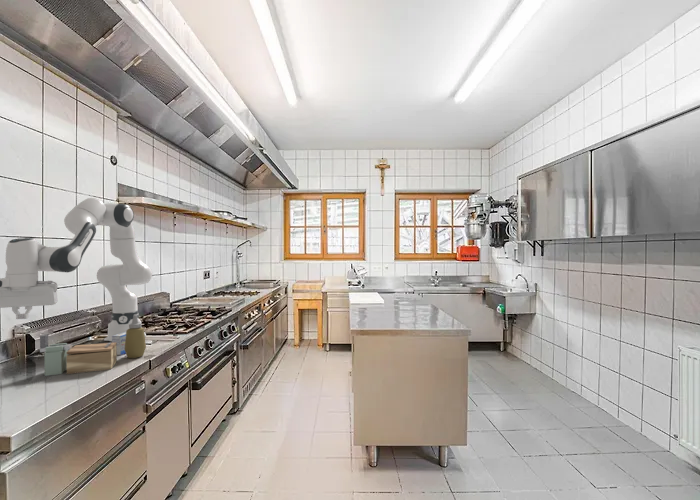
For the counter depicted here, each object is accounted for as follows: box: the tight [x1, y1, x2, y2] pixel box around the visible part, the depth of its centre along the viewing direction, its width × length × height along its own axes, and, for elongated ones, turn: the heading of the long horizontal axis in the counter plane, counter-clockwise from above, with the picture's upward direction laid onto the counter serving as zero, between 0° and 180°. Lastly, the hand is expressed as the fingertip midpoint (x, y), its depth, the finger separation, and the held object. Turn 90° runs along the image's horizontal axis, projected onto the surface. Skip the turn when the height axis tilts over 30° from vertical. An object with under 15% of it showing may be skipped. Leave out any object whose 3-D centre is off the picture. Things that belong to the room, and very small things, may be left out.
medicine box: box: [111, 332, 126, 356], centre depth 158 cm, size 8×4×9 cm, turn 168°
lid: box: [67, 342, 117, 354], centre depth 138 cm, size 10×14×1 cm
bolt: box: [39, 334, 73, 353], centre depth 133 cm, size 3×9×6 cm, turn 113°
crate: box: [66, 345, 118, 375], centre depth 138 cm, size 10×14×7 cm
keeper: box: [44, 342, 69, 377], centre depth 133 cm, size 7×5×10 cm
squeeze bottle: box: [124, 315, 147, 359], centre depth 152 cm, size 8×8×18 cm
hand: (22, 318), depth 129 cm, fingers closed
